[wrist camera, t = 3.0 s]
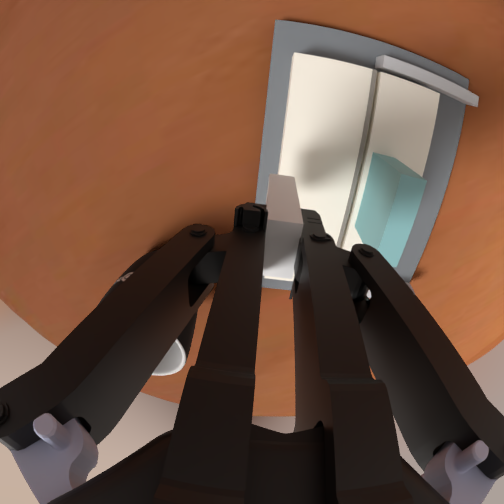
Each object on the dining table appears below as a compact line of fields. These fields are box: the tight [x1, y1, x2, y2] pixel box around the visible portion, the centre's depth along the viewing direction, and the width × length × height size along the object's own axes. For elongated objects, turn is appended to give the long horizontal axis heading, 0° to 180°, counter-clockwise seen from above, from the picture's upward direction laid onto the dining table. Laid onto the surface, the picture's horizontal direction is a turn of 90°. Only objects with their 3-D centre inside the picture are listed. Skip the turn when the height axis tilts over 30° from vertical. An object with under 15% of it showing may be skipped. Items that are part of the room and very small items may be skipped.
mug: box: [98, 250, 198, 375], centre depth 26 cm, size 12×9×10 cm
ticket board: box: [255, 20, 479, 298], centre depth 21 cm, size 24×17×4 cm
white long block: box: [340, 72, 440, 267], centre depth 18 cm, size 18×5×7 cm, turn 175°
